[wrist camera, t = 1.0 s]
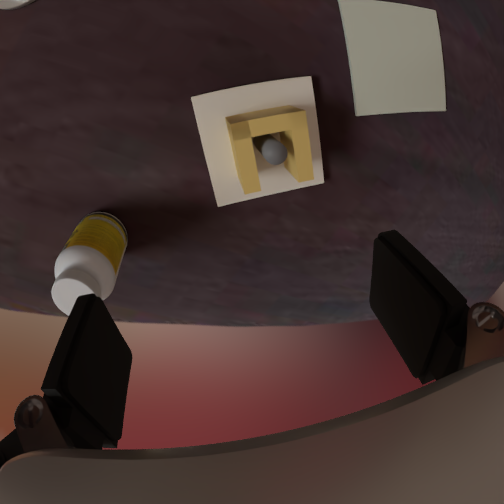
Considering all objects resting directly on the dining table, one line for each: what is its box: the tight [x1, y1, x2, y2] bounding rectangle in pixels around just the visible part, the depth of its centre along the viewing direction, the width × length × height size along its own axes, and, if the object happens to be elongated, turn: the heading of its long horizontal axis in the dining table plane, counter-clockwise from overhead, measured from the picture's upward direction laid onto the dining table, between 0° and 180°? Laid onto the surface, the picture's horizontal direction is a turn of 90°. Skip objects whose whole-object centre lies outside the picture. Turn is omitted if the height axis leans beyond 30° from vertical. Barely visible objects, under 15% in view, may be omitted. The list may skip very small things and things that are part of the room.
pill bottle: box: [52, 212, 128, 315], centre depth 28 cm, size 6×6×12 cm
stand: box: [191, 76, 324, 207], centre depth 28 cm, size 12×12×6 cm
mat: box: [338, 0, 446, 116], centre depth 27 cm, size 14×14×1 cm
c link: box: [225, 105, 314, 195], centre depth 28 cm, size 6×6×5 cm
